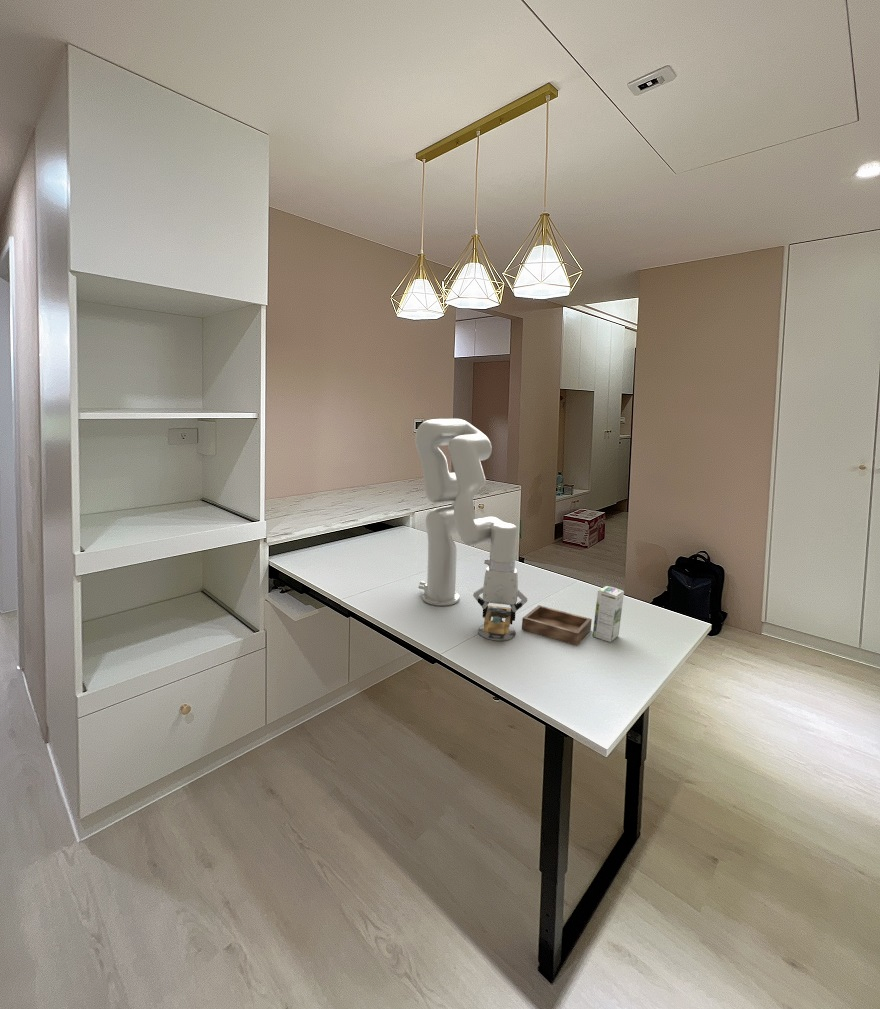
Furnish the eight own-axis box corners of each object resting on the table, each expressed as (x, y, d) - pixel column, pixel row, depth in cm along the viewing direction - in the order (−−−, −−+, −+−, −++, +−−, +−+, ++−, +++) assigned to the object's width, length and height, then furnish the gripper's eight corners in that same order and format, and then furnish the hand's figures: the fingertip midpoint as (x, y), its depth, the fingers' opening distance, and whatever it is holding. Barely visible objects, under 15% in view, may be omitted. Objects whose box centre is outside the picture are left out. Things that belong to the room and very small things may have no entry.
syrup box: (600, 630, 160) (604, 584, 157) (619, 636, 157) (624, 590, 154) (592, 636, 156) (596, 590, 153) (611, 643, 152) (616, 595, 149)
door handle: (471, 634, 155) (472, 611, 154) (489, 621, 164) (490, 599, 163) (505, 644, 149) (506, 621, 148) (521, 630, 158) (523, 608, 157)
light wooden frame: (483, 631, 151) (484, 617, 150) (487, 614, 163) (488, 600, 162) (508, 634, 150) (509, 619, 149) (510, 617, 161) (511, 603, 160)
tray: (521, 629, 159) (522, 617, 159) (537, 615, 169) (538, 605, 169) (576, 645, 150) (578, 633, 150) (590, 630, 160) (591, 619, 159)
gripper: (471, 566, 154) (468, 623, 158) (531, 572, 151) (527, 629, 155) (474, 558, 161) (471, 613, 165) (532, 563, 158) (528, 619, 162)
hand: (498, 620), depth 160 cm, fingers closed on light wooden frame, 7 cm apart
